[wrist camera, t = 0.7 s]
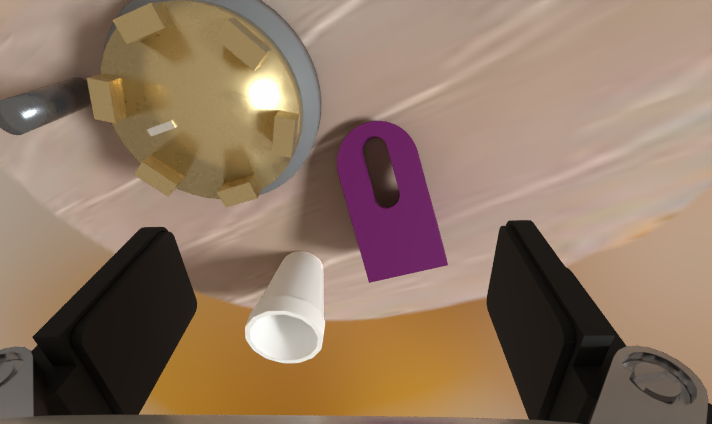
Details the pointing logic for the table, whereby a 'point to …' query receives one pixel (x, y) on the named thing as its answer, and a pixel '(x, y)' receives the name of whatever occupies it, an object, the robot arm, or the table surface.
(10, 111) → the pin
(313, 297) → the foam cup
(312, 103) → the grey round plate
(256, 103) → the brass lugged disc
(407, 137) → the mounting bracket
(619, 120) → the table surface
